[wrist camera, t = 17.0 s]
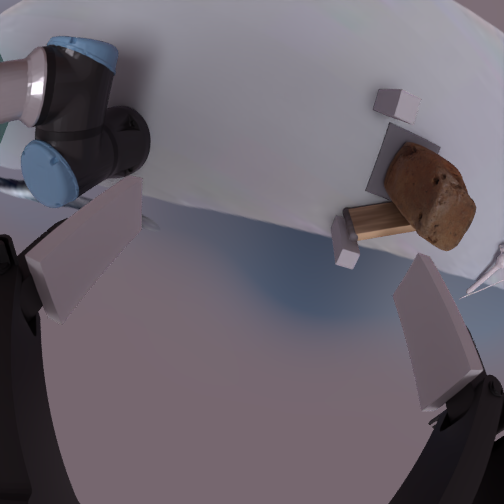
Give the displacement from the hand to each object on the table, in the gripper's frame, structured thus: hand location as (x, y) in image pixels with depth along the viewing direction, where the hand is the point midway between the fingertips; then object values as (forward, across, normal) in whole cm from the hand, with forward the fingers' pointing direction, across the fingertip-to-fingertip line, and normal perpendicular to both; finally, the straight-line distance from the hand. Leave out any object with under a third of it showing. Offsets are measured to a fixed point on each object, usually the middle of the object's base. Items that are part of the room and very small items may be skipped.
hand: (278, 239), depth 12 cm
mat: (+37, +21, 0) cm, 43 cm away
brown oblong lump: (+37, +21, 0) cm, 43 cm away
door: (+37, +21, -9) cm, 43 cm away
